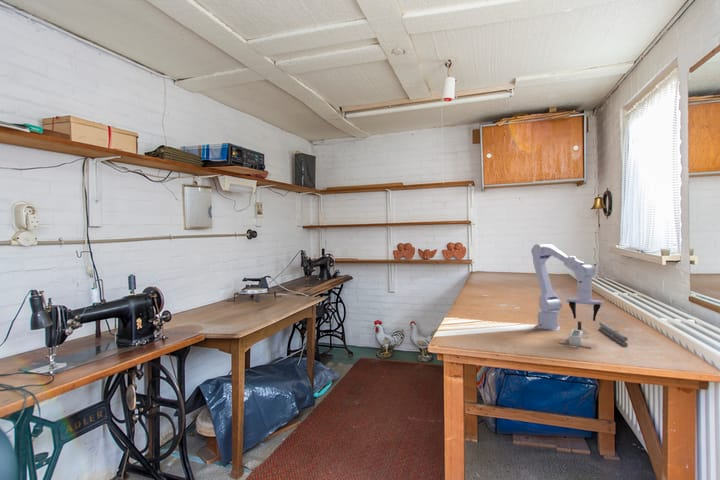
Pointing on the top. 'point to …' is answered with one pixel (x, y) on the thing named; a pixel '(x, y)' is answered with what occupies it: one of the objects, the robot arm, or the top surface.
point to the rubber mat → (575, 346)
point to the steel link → (575, 337)
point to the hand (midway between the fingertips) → (584, 319)
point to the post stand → (585, 332)
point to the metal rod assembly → (613, 333)
